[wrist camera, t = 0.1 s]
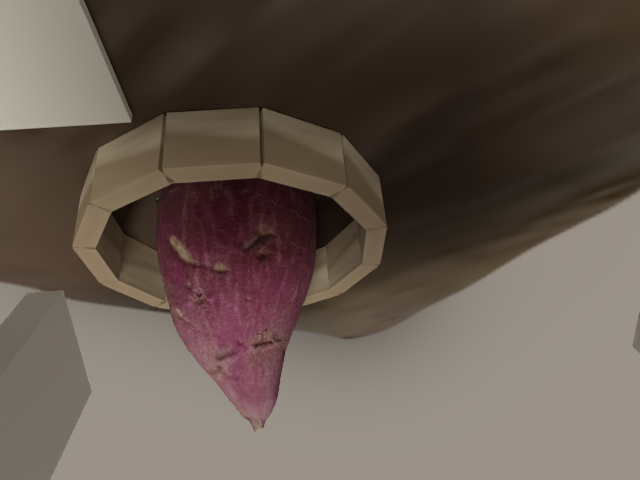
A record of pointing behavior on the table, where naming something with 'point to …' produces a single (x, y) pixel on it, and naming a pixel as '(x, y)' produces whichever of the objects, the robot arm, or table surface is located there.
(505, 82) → the table surface
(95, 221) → the segmented wooden ring
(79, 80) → the white mat
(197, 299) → the vegetable
